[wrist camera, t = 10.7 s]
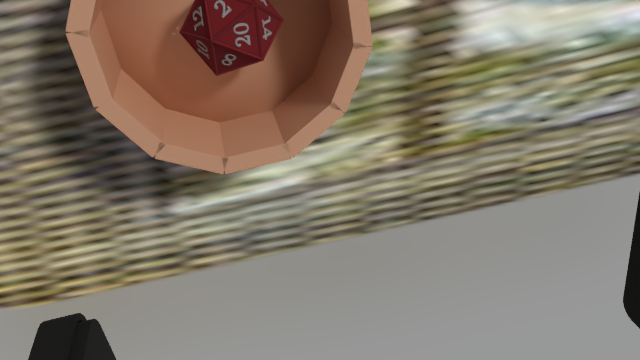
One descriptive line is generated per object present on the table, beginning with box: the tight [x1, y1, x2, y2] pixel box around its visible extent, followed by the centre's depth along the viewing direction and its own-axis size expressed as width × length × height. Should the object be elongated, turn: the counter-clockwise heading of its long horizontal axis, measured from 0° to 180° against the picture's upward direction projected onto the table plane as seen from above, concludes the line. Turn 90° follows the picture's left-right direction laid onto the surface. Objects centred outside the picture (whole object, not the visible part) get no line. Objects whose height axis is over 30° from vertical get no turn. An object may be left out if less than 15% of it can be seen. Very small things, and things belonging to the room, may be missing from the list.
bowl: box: [65, 0, 373, 174], centre depth 25 cm, size 12×12×5 cm
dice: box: [179, 0, 284, 76], centre depth 25 cm, size 4×4×4 cm
